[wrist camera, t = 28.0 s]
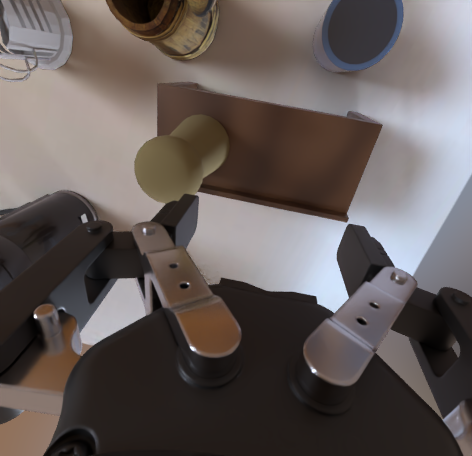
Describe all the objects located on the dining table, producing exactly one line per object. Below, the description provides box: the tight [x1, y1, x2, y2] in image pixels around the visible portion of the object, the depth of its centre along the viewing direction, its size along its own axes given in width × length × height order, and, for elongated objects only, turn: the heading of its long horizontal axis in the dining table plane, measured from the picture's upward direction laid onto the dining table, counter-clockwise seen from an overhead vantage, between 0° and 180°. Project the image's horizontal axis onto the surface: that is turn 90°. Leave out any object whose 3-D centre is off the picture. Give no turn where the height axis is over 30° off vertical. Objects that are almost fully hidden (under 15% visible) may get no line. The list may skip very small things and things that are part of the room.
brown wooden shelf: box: [157, 82, 383, 223], centre depth 32 cm, size 22×10×11 cm, turn 82°
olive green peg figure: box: [135, 114, 230, 204], centre depth 24 cm, size 6×6×11 cm
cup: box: [313, 0, 403, 72], centre depth 26 cm, size 6×8×9 cm
